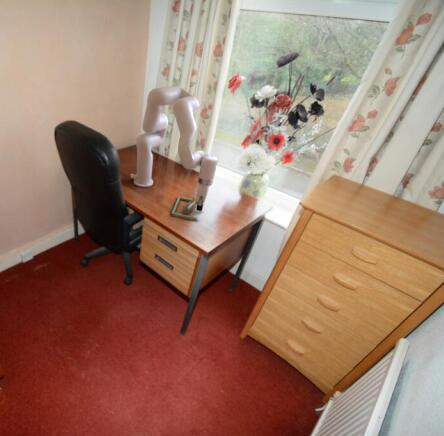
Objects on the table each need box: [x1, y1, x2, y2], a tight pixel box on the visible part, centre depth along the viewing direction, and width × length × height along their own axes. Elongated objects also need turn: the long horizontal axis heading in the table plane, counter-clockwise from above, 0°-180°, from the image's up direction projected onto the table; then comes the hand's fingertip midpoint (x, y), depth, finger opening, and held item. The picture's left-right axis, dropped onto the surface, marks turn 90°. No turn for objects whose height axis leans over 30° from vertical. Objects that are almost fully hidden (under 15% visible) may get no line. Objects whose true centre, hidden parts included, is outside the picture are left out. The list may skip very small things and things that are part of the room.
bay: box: [170, 196, 198, 222], centre depth 151 cm, size 14×19×2 cm
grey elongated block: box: [182, 197, 197, 216], centre depth 150 cm, size 12×3×4 cm, turn 148°
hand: (199, 210), depth 149 cm, fingers closed
